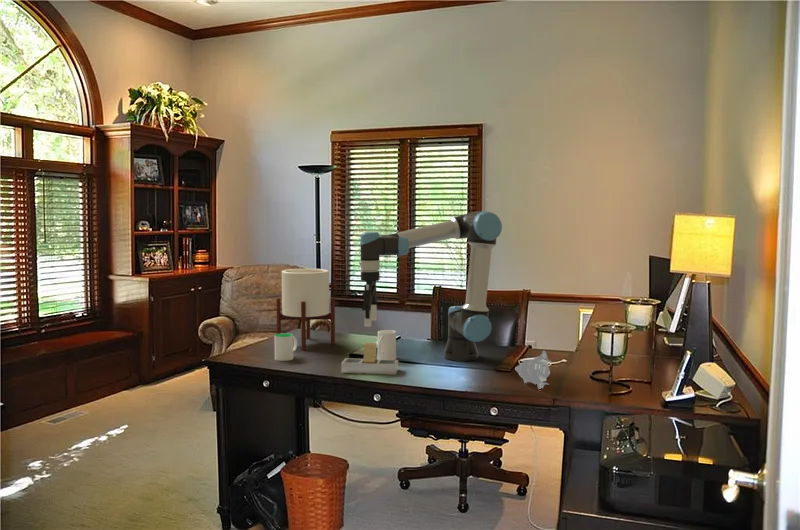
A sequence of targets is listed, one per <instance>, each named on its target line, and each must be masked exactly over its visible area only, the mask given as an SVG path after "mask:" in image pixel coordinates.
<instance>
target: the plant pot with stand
mask: <svg viewBox="0 0 800 530" xmlns="http://www.w3.org/2000/svg"><path fill="white" fill-rule="evenodd" d="M275 300H276V303H275V304H276V334H281V333H282V320H283V321H299V320H300V323H301V324H300V325H301V335H300V336H301V339H300V340H301V351H303V352H304V351H307V340H311V321H312V320H315V321H316V320H323V321H324V320H330V345H335V344H336V318H335V317H336V316H335V315H336V307H335V306H336V303H335V301H336V298H335V297H333V296H332V297H330V270H328V269H323V268H289V269H284V270H282V271H281V297H276V299H275Z"/></svg>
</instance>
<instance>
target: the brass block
mask: <svg viewBox="0 0 800 530" xmlns="http://www.w3.org/2000/svg"><path fill="white" fill-rule="evenodd" d="M363 359H364V363H376V359H377V342H365V343H364V344H363Z"/></svg>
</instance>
